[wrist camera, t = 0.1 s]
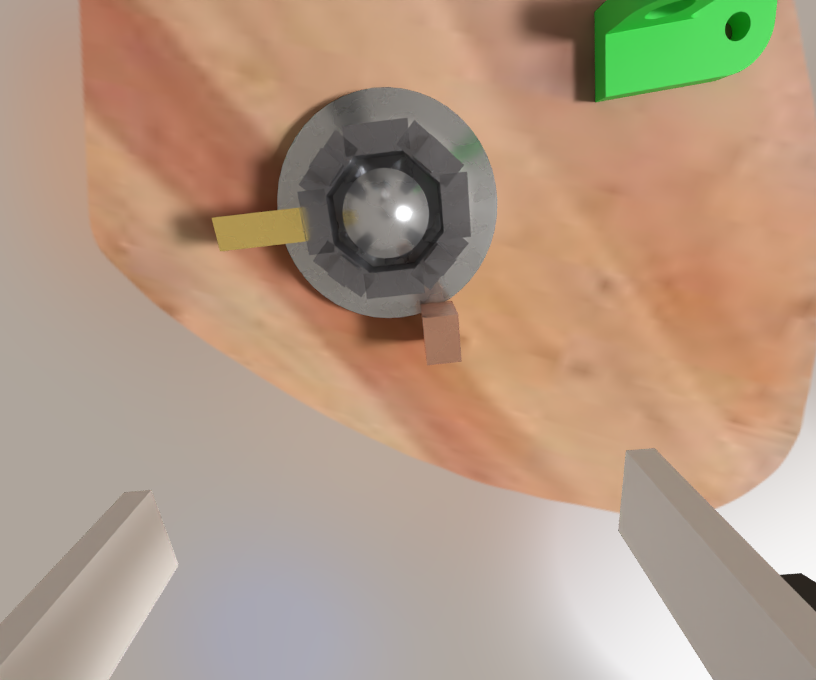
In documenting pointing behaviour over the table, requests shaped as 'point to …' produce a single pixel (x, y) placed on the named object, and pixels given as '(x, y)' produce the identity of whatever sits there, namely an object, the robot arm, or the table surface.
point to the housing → (396, 209)
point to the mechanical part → (675, 42)
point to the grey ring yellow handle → (320, 218)
